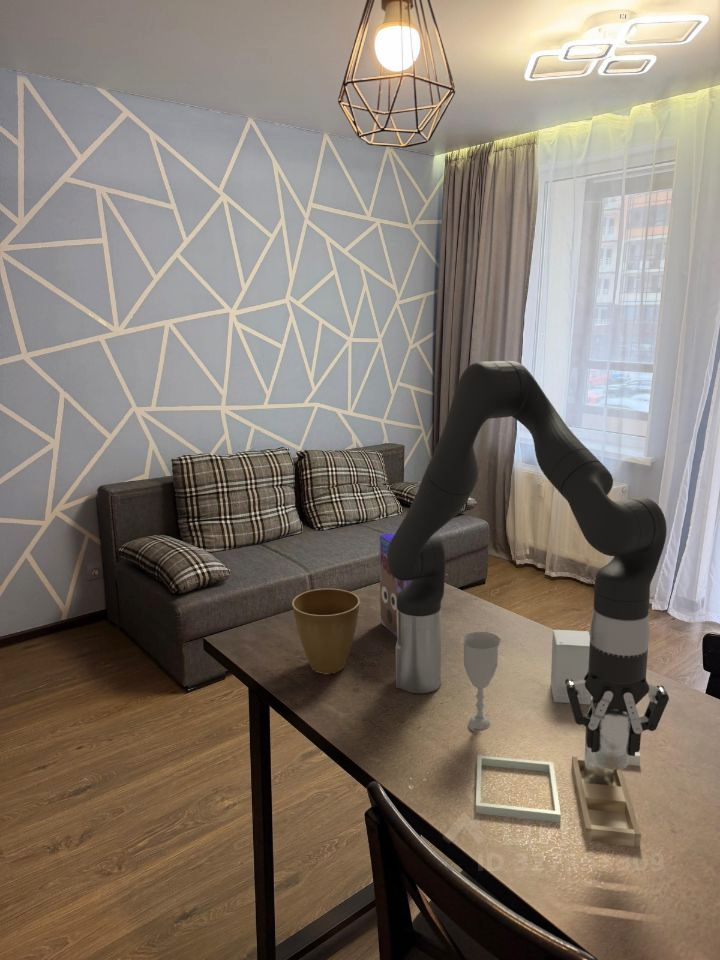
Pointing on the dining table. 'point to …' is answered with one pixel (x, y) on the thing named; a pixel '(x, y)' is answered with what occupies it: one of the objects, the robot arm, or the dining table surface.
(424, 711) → the dining table surface
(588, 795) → the pocket board
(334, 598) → the plant pot
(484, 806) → the square tray frame
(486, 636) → the chalice
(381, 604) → the cereal box
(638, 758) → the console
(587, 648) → the supplement box
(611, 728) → the cylinder
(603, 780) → the cylinder
